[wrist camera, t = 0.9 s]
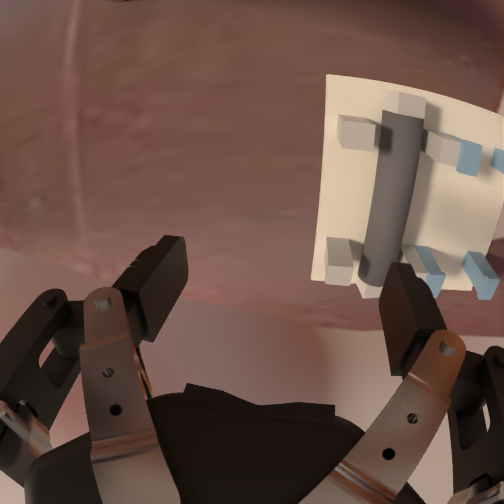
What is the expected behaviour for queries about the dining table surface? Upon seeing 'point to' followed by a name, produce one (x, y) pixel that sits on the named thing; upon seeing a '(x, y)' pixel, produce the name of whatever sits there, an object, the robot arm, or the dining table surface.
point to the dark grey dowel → (391, 187)
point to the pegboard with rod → (425, 190)
